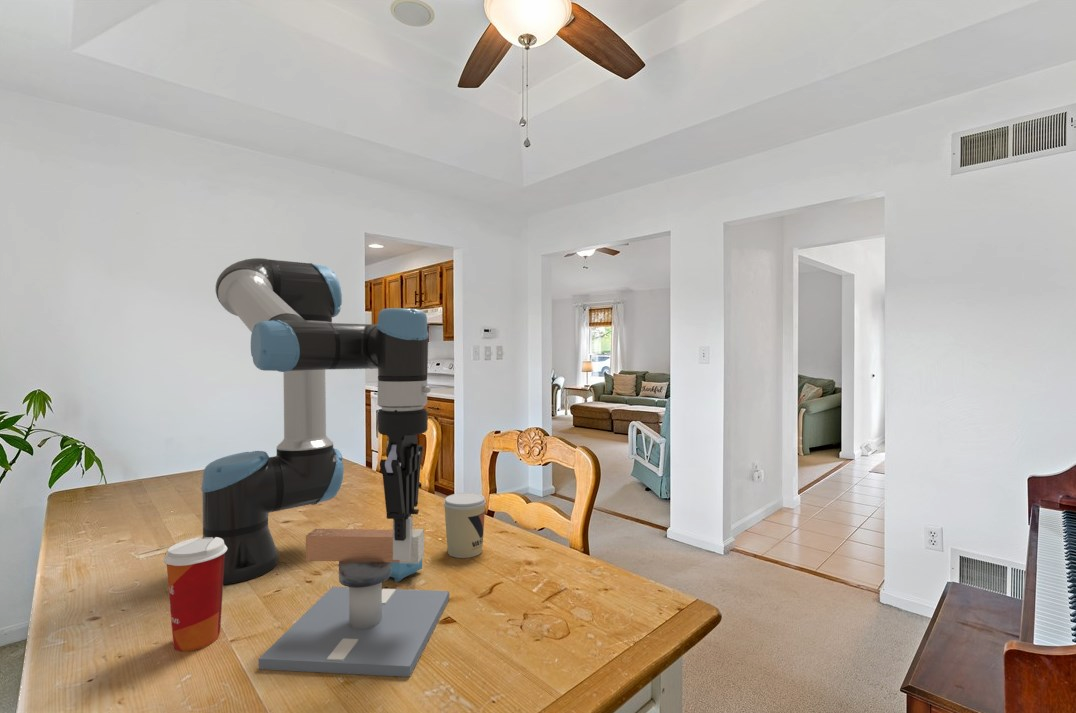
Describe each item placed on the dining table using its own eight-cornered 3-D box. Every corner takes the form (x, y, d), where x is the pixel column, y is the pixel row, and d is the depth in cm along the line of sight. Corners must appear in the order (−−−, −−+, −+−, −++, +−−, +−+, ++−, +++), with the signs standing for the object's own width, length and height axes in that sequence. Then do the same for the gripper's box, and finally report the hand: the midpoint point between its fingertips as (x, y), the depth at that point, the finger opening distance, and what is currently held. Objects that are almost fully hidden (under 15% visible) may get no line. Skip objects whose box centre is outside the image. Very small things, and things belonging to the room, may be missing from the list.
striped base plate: (258, 669, 72) (258, 609, 72) (332, 594, 94) (332, 549, 94) (409, 677, 71) (409, 616, 70) (449, 599, 93) (449, 552, 92)
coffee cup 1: (185, 627, 83) (184, 536, 83) (238, 624, 84) (237, 534, 84) (150, 658, 75) (149, 557, 75) (209, 655, 76) (208, 555, 75)
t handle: (298, 586, 79) (298, 540, 78) (322, 564, 87) (321, 523, 86) (414, 588, 78) (414, 542, 78) (427, 566, 86) (427, 524, 86)
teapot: (434, 576, 102) (434, 539, 102) (412, 589, 97) (412, 549, 97) (392, 563, 108) (392, 528, 108) (369, 574, 103) (369, 537, 103)
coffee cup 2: (478, 561, 109) (478, 505, 109) (437, 557, 111) (437, 503, 111) (490, 544, 118) (490, 493, 118) (452, 541, 120) (452, 491, 120)
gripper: (412, 412, 73) (412, 577, 73) (438, 404, 86) (437, 543, 86) (362, 412, 73) (362, 575, 74) (394, 403, 86) (394, 542, 86)
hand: (402, 558), depth 80 cm, fingers closed
